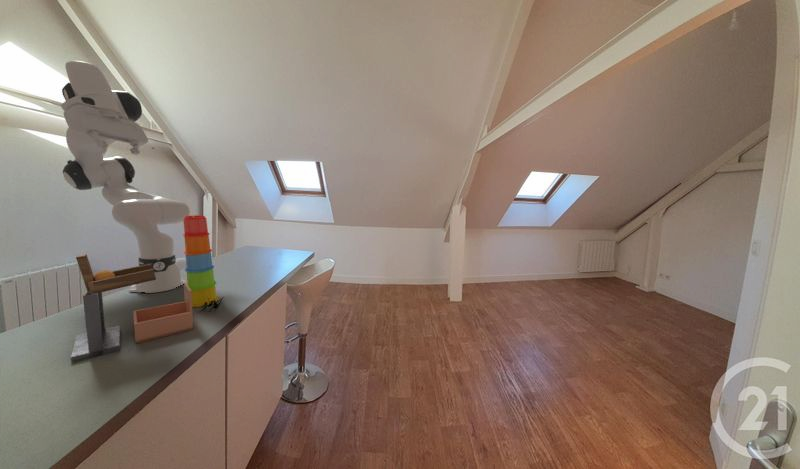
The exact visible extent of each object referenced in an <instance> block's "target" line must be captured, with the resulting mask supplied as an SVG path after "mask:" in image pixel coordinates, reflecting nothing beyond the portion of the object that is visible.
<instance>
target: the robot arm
mask: <svg viewBox="0 0 800 469" xmlns="http://www.w3.org/2000/svg"><path fill="white" fill-rule="evenodd" d="M64 67H65V71H66V75H67V77H68V80H69V82H67V83H66V84H65V85H64V86H63V87H62V89H61V93H62V96H63V98H64V100H65V101H64V102H62V103H61V104H60V107H61V109H62V110H63V116H64V120H65V122H66V124H67V127H68V128H67V129H66V133H65V140H66V144H67V147H68V150H69V151H70V153H71V154H72V155H73V157H74V160H71V159H69V160H67V164H65V165H64V167H63V170H62V174H63V178H64V180H65V181H66V183H68V184H69V185H70V186H71V187H73V188H74V189H76V190H79V191H86V190H93V189H96V188H102V189H101V194H102V195H101V196H102V197H103V198H104V199H105V200H106V201H107V202H108V203H109V204H111V205H112V206H113V207H112V209H111V215H112V218H113V219H114V220H115V222H117V223H118V224H119V225H121V226H123V227H125V228H127V229H128V230H130V231H131V232H132V234H133V235H134V236H135V238H136V240H137V245H138V252H139V257H138V266H142V265H147V264H152V267H153V269H154V273H155V277H156V280H152V281H148V282H144V283H139V284H135V285H131V286H130V288H132V287H134V286H136V287H134V288H132V289H130V288H129V289H128V292H129V293H141V292H145V293H146V294H151V293H162V292H166V291H170V290H174V289H177V288H178V286H179V287H181V286H184V285H183V284H184V282H186V283H187V280H184V279H182V273H181V267H180V266H179V265H177V263H176V260H177V259H176V255H175V251H174V250H175V249H174V246H175V245H174V239H173V238H172V237H171V236H170V235H169V234H166V233H164V232H160V230H159V226H160V225H161V226H162V225H174V224H180V223H184V221H183V219H184V217H185V216H191V211H190V207H189V206H188V204H186V203H185V201H183V200H182V201H181V200H176V199H171V198H167V197H163V196H160V195H156V194H152V193H148V192H145V191H143V190H141V189H138V188H137V187H135V186H132V185H130V184H131V183H133V179H134V178H135V174H136V170H135V168H134V165H133V163H131V161H129V160H128V159H127V158H126V157H124V156H117V155H116V156H111V157H104V156H105V154H106V153H107V152H108V147H109V146H110V145H112V143H115V142H116V141H117V142H122V143H126V144H129V145H130V146H132V147H131V148H130V149H129V151H130V152H131V155H139V154H140V153H141V151H140V149H139V148H140V146H144V145H146V144H147V143H148V142H149V138H148V136H147V135H146V133H145V131H144V129H143V128H142V126H141V125H140V124H139V123H137V121H138V120H139V119H141V117H142V115H143V108H142V104H141V102H140V100H139V99H138V98H137V97H136V96H134V95H133V94H131V93H130V92H128V91H125V90H112V88H111V85H110V83H109V81H108V80H107V78H106V76H105V74H104V73H103V71H102V70H101V69H100V68H99V67H98V65H95V64H94V63H91V62H86V61H81V60H69V61H68V62H66V63H65V66H64ZM140 284H141V285H140ZM138 285H139V286H138ZM180 285H181V286H180ZM176 287H177V288H176ZM145 293H144V294H145Z"/></svg>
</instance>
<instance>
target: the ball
mask: <svg viewBox="0 0 800 469" xmlns="http://www.w3.org/2000/svg"><path fill="white" fill-rule="evenodd" d="M94 275H95V276H94V281H98V280H103V279H107V278H112V277H115V274H114V273H113V272H112V270H100V271H98V272H97V273H95V274H94Z"/></svg>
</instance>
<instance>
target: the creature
mask: <svg viewBox="0 0 800 469" xmlns="http://www.w3.org/2000/svg"><path fill="white" fill-rule="evenodd" d="M224 298H225V296H222V298H221V299H219V300H220V301H219V303H218V302H217V301H211V302H210V303H209V302H207V303H209V305H208V304H207V303H206V302H205V304H204V305H202V306H201V307H203V308H202V309H201V310H200V311H198V313H200V312H203V311H205V309H206V308H207V307H208V308H210V307H211V308H210V310H207V312H208V313H211V311H212V310H213V309H214V310H215V311H216V310H217V309H219V307H220V306H221V303H222V301H223V299H224ZM214 300H215V299H214ZM213 302H214V303H213ZM205 305H206V306H205Z"/></svg>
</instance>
